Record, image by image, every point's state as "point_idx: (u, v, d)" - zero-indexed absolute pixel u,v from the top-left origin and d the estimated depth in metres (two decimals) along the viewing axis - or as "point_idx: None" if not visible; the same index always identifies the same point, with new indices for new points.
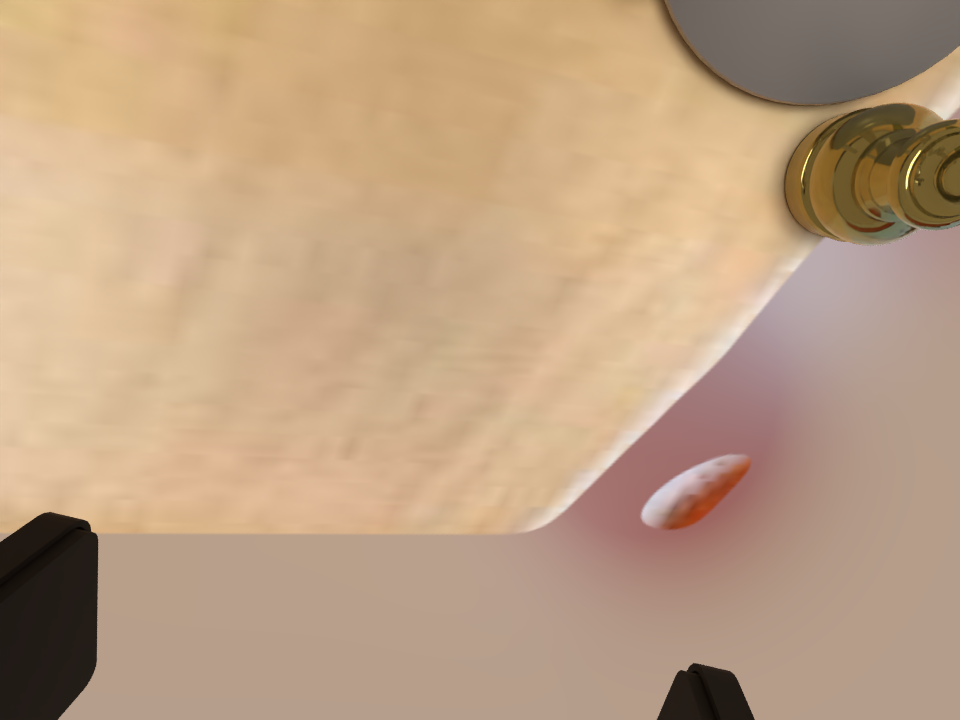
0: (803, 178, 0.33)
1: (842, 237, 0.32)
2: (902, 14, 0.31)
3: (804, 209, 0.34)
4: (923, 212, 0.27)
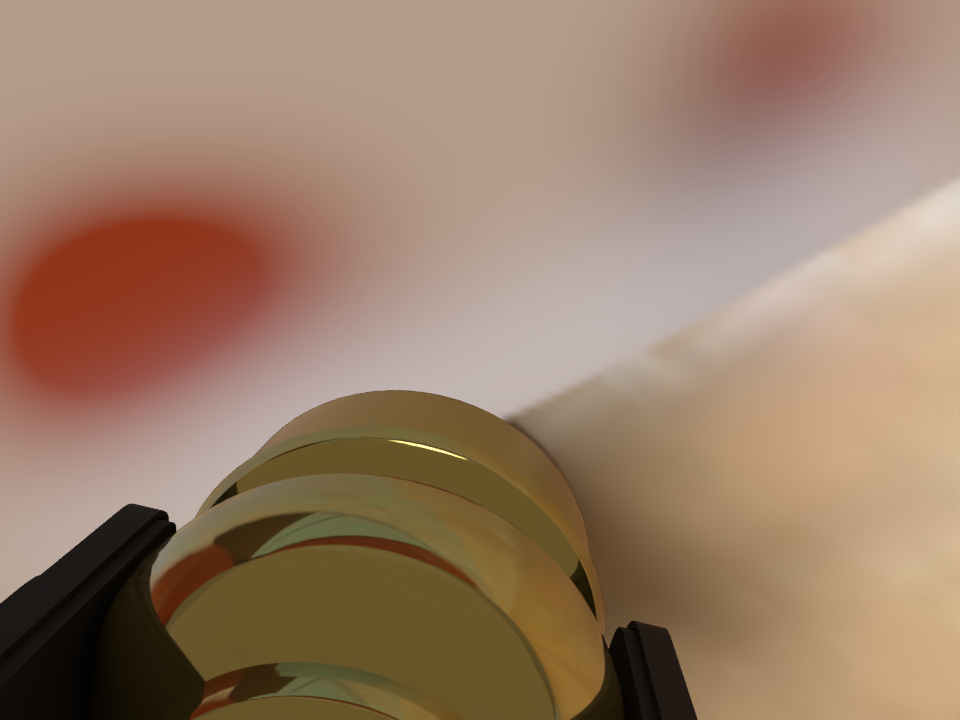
0: None
1: (575, 617, 0.07)
2: None
3: None
4: None
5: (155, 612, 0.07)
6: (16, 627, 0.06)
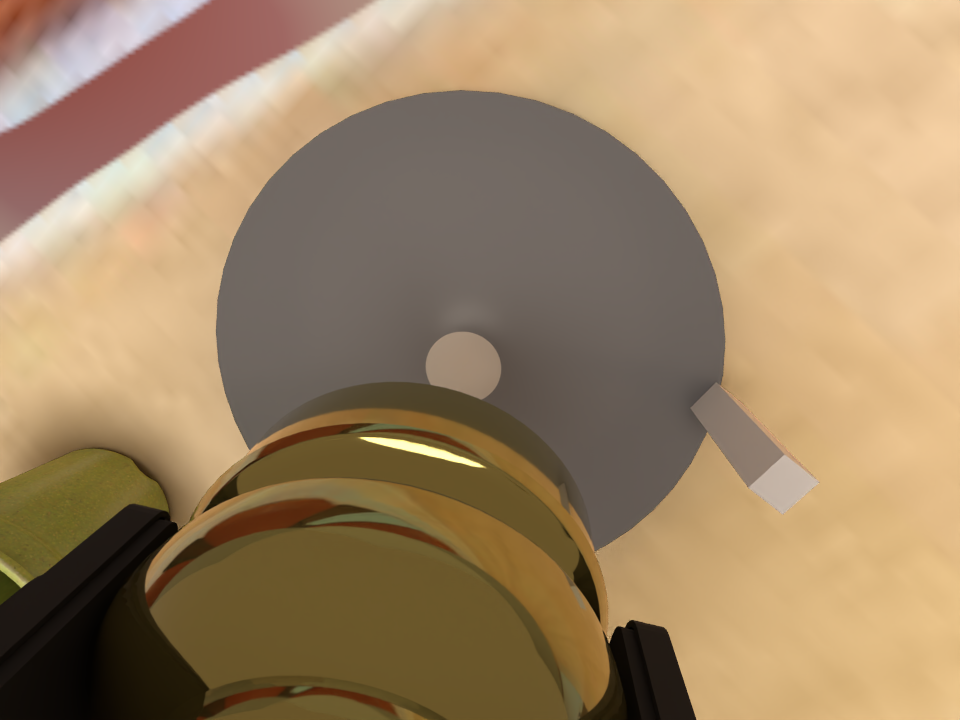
0: None
1: (578, 625, 0.07)
2: (435, 193, 0.20)
3: (600, 620, 0.09)
4: None
5: (151, 622, 0.06)
6: (18, 626, 0.06)
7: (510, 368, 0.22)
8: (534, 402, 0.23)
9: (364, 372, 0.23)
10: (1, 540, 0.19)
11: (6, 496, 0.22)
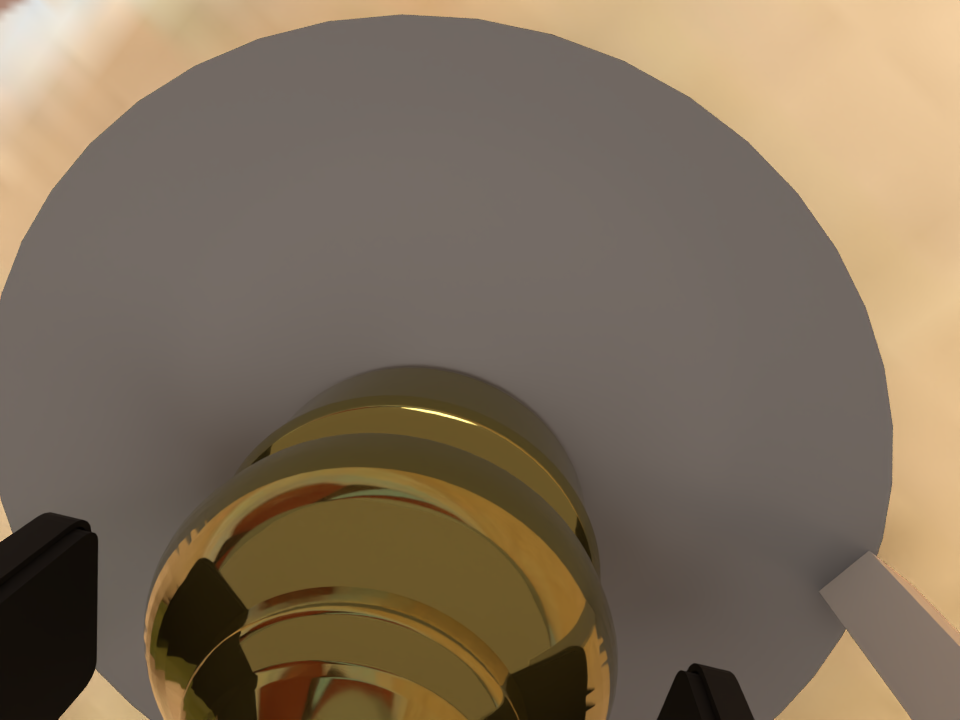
0: None
1: (573, 553, 0.08)
2: (359, 215, 0.11)
3: None
4: None
5: (209, 549, 0.08)
6: None
7: None
8: None
9: None
10: None
11: None
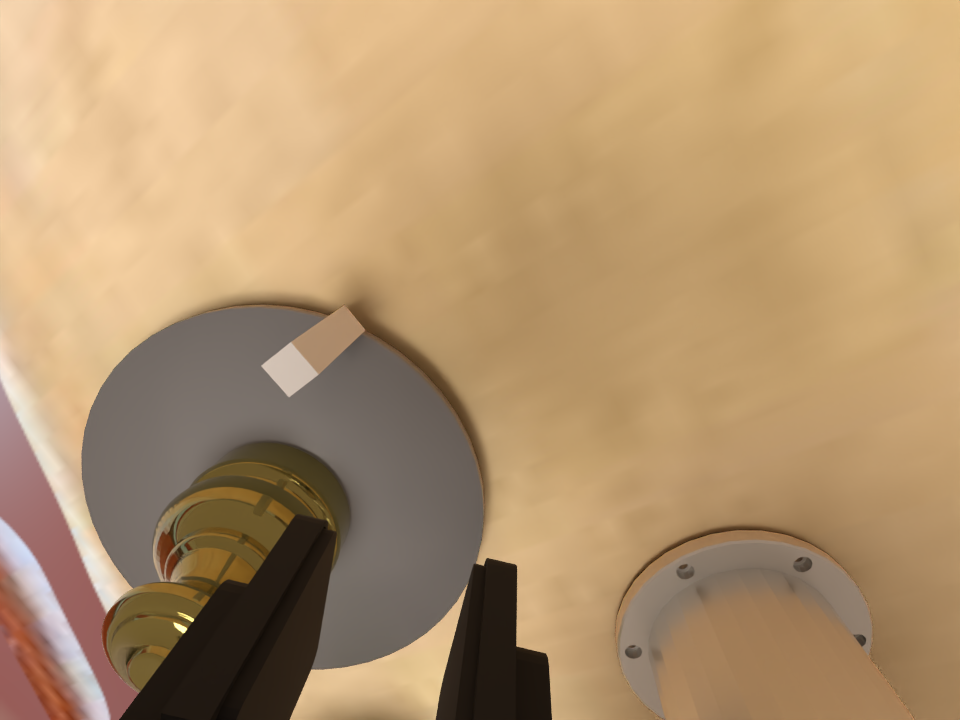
0: (299, 483, 0.25)
1: (193, 489, 0.23)
2: (147, 488, 0.28)
3: (262, 464, 0.25)
4: (137, 613, 0.18)
5: None
6: (250, 629, 0.07)
7: None
8: None
9: None
10: None
11: None
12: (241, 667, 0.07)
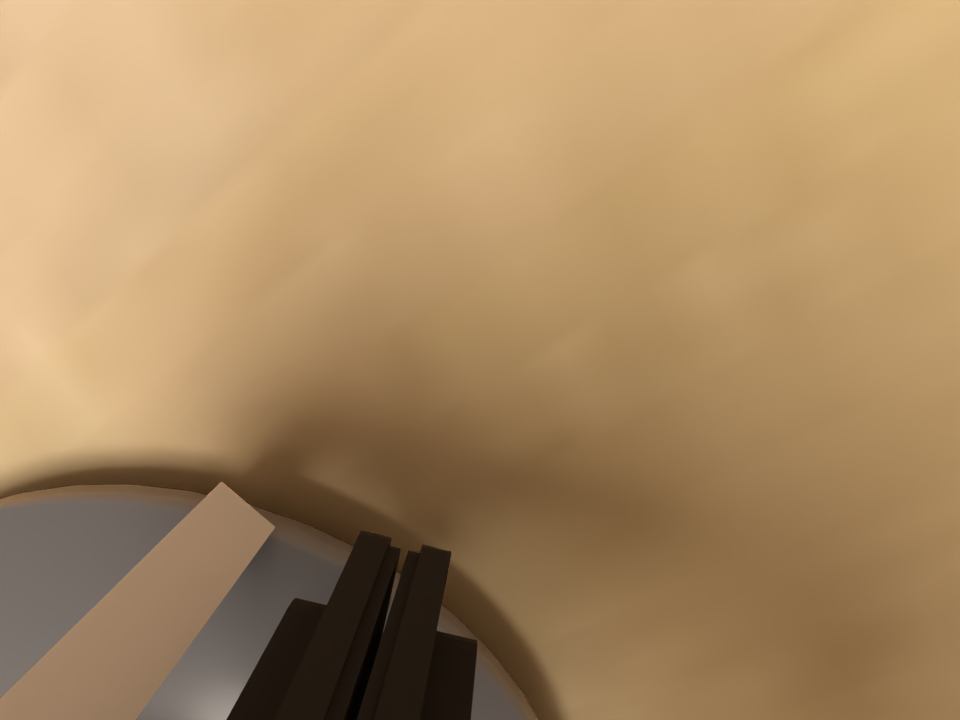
0: None
1: None
2: None
3: None
4: None
5: None
6: (335, 653, 0.07)
7: None
8: None
9: None
10: None
11: None
12: (332, 693, 0.07)
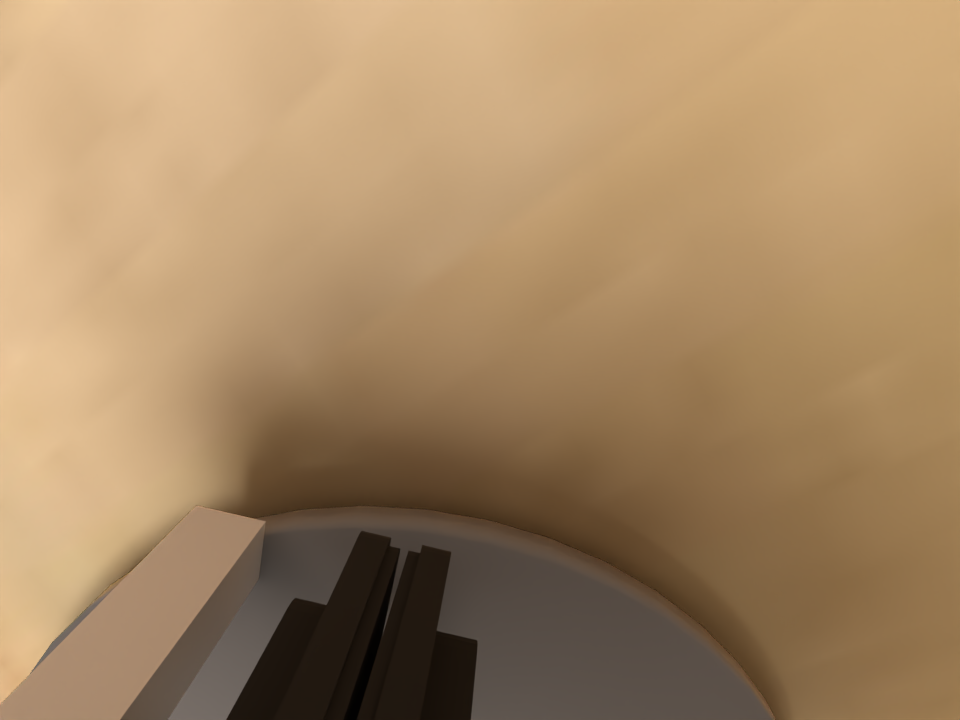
0: None
1: None
2: None
3: None
4: None
5: None
6: (335, 653, 0.07)
7: None
8: None
9: None
10: None
11: None
12: (332, 693, 0.07)
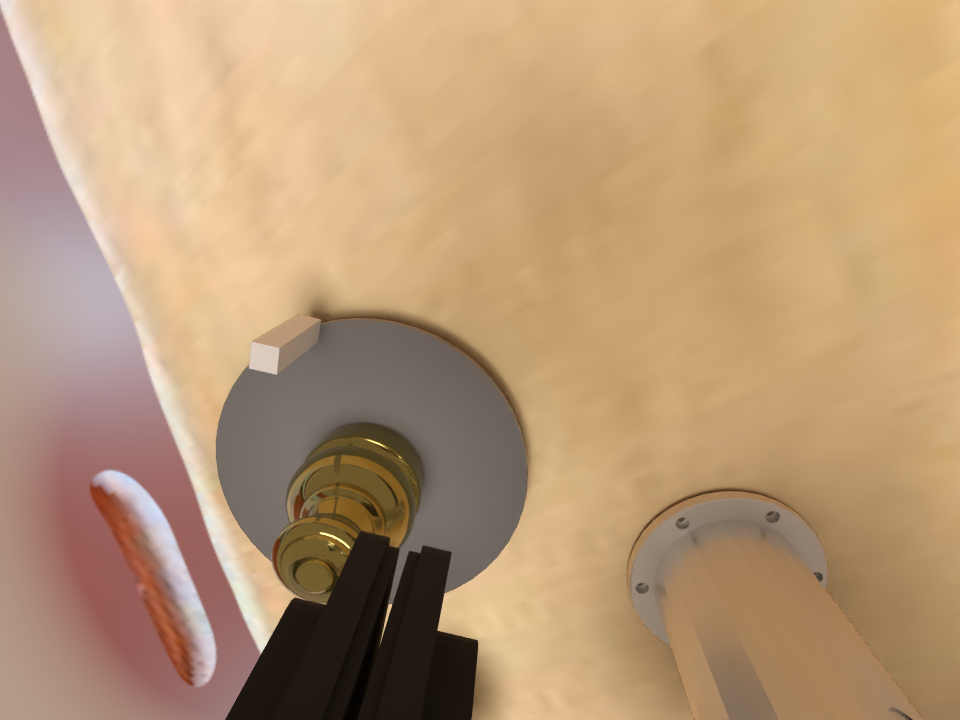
0: (353, 439, 0.33)
1: (289, 482, 0.32)
2: None
3: (324, 445, 0.33)
4: (283, 550, 0.27)
5: None
6: (334, 653, 0.07)
7: None
8: None
9: None
10: None
11: None
12: (331, 693, 0.07)
